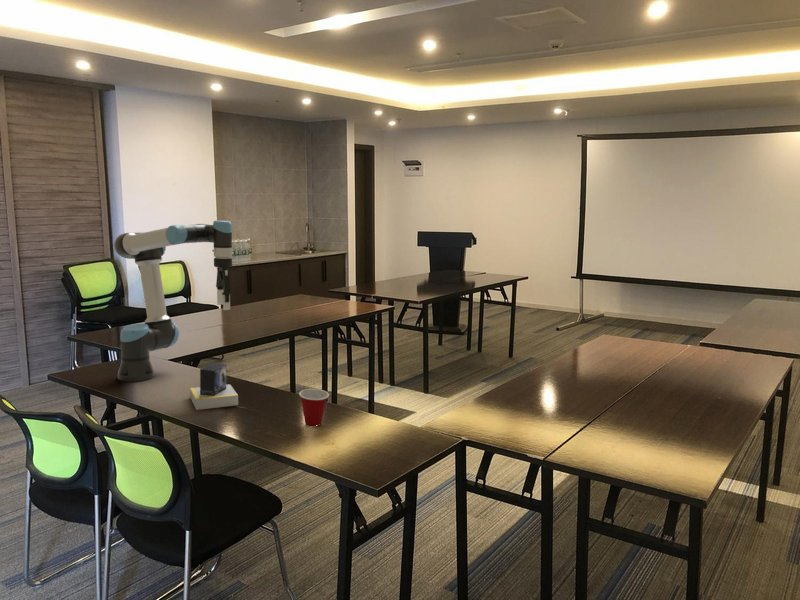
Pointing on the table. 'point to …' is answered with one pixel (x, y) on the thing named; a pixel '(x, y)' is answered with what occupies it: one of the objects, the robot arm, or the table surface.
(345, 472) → the table surface
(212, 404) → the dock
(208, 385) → the small box
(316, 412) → the plastic cup
